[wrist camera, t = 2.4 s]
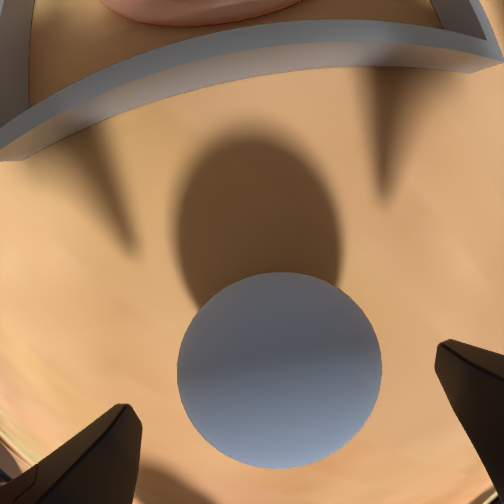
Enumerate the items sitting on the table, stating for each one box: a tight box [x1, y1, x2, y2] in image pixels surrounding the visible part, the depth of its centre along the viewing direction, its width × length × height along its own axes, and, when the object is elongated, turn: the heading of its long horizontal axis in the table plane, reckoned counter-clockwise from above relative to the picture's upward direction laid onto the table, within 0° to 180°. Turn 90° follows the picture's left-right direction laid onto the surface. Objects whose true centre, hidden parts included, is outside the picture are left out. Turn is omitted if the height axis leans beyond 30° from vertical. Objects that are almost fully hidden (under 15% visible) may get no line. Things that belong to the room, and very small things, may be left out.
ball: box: [177, 272, 382, 469], centre depth 8 cm, size 6×6×6 cm
